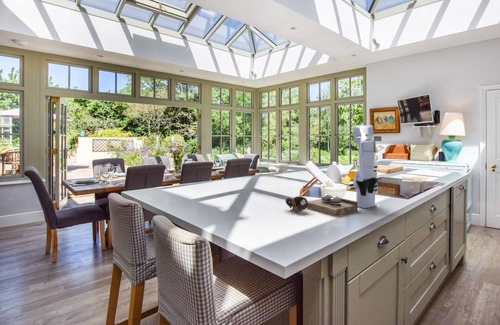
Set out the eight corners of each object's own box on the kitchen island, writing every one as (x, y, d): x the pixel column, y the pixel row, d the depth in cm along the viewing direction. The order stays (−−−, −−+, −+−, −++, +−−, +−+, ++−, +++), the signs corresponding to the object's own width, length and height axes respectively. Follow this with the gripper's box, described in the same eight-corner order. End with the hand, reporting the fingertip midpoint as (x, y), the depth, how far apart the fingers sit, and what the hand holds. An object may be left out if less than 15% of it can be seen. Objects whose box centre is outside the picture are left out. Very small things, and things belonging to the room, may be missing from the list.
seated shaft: (326, 206, 156) (326, 193, 155) (333, 208, 152) (333, 194, 151) (319, 207, 153) (319, 194, 153) (326, 209, 149) (326, 196, 148)
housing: (327, 202, 163) (327, 195, 162) (357, 210, 146) (357, 201, 145) (305, 207, 154) (305, 199, 154) (335, 215, 137) (335, 206, 137)
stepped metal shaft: (335, 208, 151) (335, 195, 150) (343, 210, 146) (343, 197, 145) (327, 209, 149) (327, 196, 148) (335, 212, 144) (335, 198, 143)
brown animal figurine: (308, 209, 153) (311, 197, 148) (303, 221, 146) (306, 209, 141) (287, 202, 157) (288, 190, 152) (281, 213, 150) (282, 201, 145)
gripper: (365, 164, 146) (365, 190, 147) (352, 166, 136) (351, 195, 137) (380, 165, 141) (379, 192, 142) (367, 168, 131) (366, 197, 132)
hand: (366, 194), depth 139 cm, fingers open, 7 cm apart
